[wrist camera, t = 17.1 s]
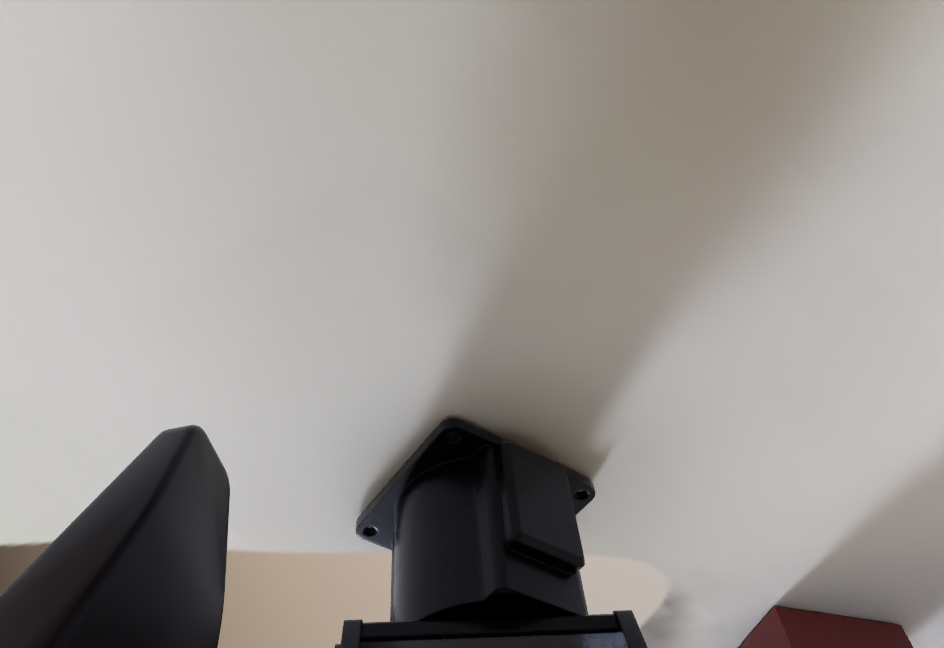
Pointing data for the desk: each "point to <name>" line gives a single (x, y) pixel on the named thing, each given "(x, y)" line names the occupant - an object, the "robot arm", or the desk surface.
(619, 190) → the desk surface
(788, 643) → the toy houses
